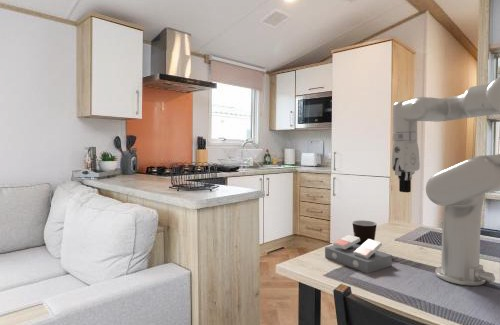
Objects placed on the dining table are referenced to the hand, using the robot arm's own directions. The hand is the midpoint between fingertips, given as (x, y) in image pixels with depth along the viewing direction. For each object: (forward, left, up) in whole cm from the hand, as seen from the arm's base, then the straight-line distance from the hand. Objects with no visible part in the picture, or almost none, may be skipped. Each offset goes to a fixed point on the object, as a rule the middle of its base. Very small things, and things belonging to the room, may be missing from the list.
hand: (405, 191), depth 116 cm
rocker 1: (+12, +15, -18) cm, 26 cm away
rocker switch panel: (+7, +15, -23) cm, 29 cm away
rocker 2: (+3, +15, -18) cm, 24 cm away
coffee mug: (+15, +1, -24) cm, 28 cm away
